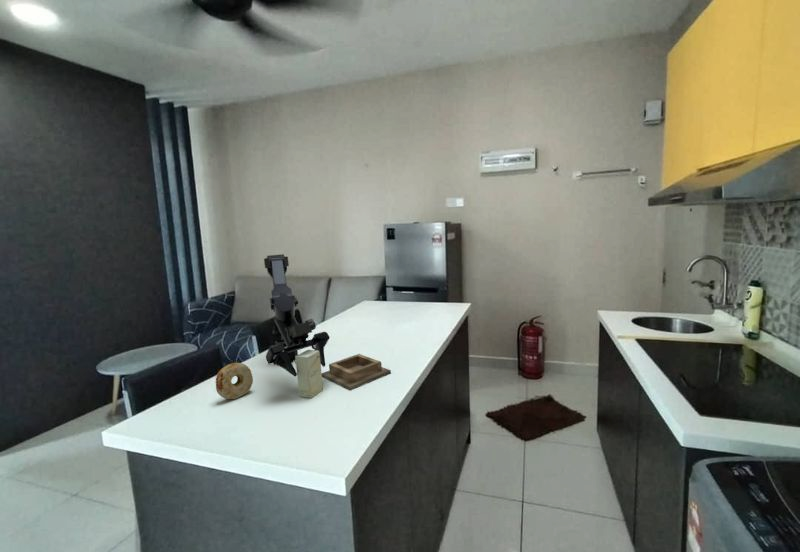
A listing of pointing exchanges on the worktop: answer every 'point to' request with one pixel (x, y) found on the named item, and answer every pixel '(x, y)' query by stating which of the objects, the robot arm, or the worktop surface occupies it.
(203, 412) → the worktop surface
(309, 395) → the skincare box
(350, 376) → the socket
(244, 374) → the stone disc
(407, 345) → the worktop surface
